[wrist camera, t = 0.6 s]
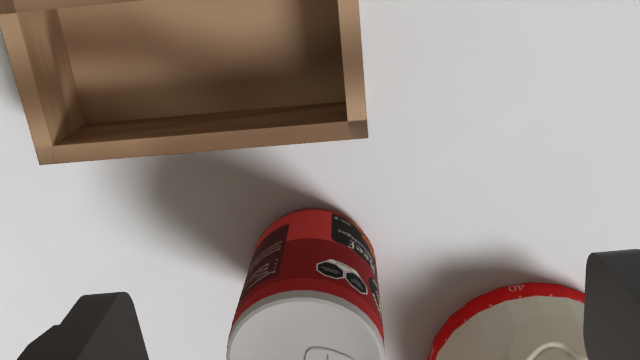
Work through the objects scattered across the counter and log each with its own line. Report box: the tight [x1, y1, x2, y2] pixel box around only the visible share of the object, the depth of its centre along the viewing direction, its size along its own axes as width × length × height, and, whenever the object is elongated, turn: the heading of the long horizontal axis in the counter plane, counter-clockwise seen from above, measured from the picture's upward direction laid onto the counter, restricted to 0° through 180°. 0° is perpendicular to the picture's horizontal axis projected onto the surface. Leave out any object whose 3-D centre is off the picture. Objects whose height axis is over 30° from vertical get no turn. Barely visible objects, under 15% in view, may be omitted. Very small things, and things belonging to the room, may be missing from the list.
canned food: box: [226, 209, 385, 360], centre depth 35 cm, size 8×8×11 cm
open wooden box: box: [0, 0, 368, 165], centre depth 33 cm, size 9×18×5 cm, turn 96°
